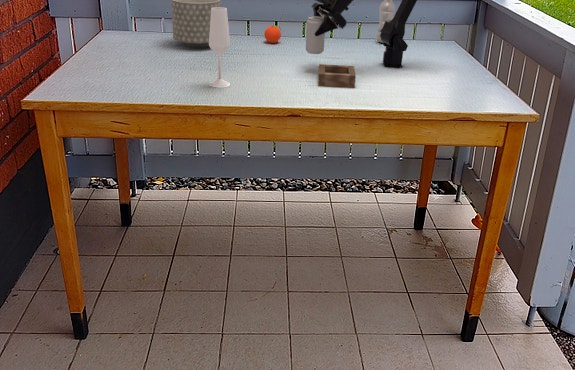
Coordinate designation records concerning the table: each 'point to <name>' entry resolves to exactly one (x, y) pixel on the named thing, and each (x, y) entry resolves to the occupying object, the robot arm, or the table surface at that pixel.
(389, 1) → the plastic bottle
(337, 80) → the socket block
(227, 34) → the champagne flute
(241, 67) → the table surface
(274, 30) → the clementine
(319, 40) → the beverage can
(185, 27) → the planter
